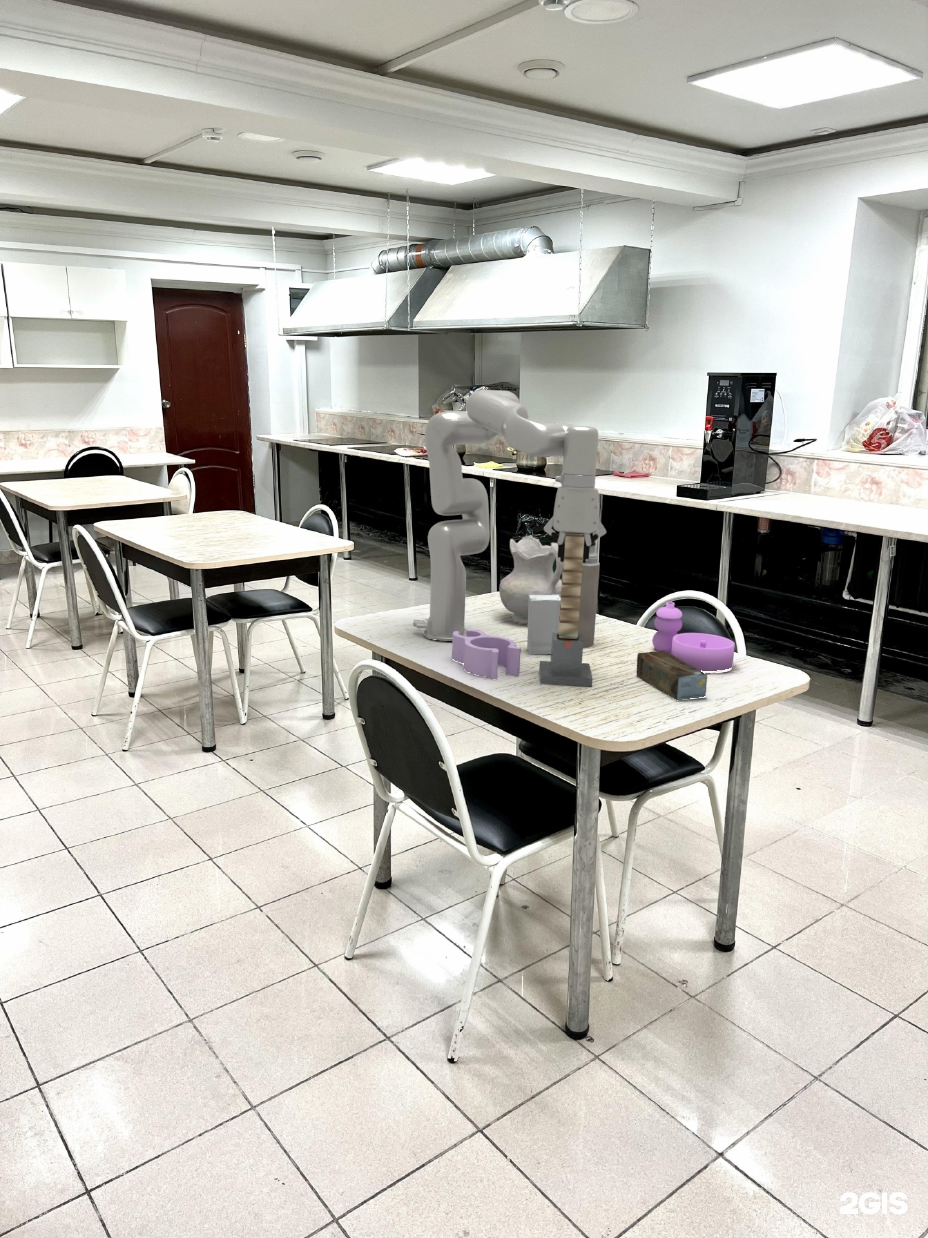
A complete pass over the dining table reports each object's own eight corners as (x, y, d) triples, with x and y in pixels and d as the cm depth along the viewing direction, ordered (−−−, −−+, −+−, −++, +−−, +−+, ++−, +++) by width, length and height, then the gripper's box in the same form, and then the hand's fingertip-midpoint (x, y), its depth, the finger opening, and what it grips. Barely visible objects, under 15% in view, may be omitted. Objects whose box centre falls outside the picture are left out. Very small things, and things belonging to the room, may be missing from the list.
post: (558, 638, 212) (565, 536, 207) (558, 633, 217) (564, 533, 211) (577, 639, 212) (584, 537, 206) (576, 634, 217) (583, 534, 211)
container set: (745, 670, 229) (751, 619, 226) (699, 677, 222) (704, 624, 219) (678, 644, 250) (682, 597, 247) (634, 650, 243) (638, 601, 240)
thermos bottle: (563, 638, 251) (570, 537, 244) (593, 640, 250) (600, 539, 243) (564, 646, 243) (571, 542, 236) (594, 648, 243) (602, 544, 236)
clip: (439, 659, 228) (440, 633, 226) (480, 653, 235) (481, 627, 233) (485, 682, 212) (486, 653, 210) (528, 674, 219) (529, 647, 217)
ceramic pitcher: (581, 626, 269) (590, 542, 264) (542, 633, 254) (551, 544, 249) (523, 613, 282) (531, 533, 278) (483, 618, 268) (490, 534, 263)
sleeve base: (540, 683, 212) (542, 642, 209) (539, 668, 223) (541, 629, 221) (591, 686, 211) (595, 645, 208) (588, 671, 222) (591, 631, 220)
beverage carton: (675, 702, 203) (678, 674, 202) (633, 676, 221) (636, 650, 219) (706, 699, 206) (709, 672, 204) (662, 674, 223) (665, 648, 222)
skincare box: (556, 649, 241) (560, 594, 237) (560, 655, 235) (563, 599, 231) (525, 648, 240) (528, 593, 237) (527, 654, 235) (530, 598, 231)
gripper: (541, 481, 202) (536, 562, 207) (617, 485, 201) (611, 566, 206) (540, 478, 210) (536, 556, 214) (614, 481, 209) (608, 560, 213)
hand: (572, 560), depth 210 cm, fingers closed on post, 4 cm apart
